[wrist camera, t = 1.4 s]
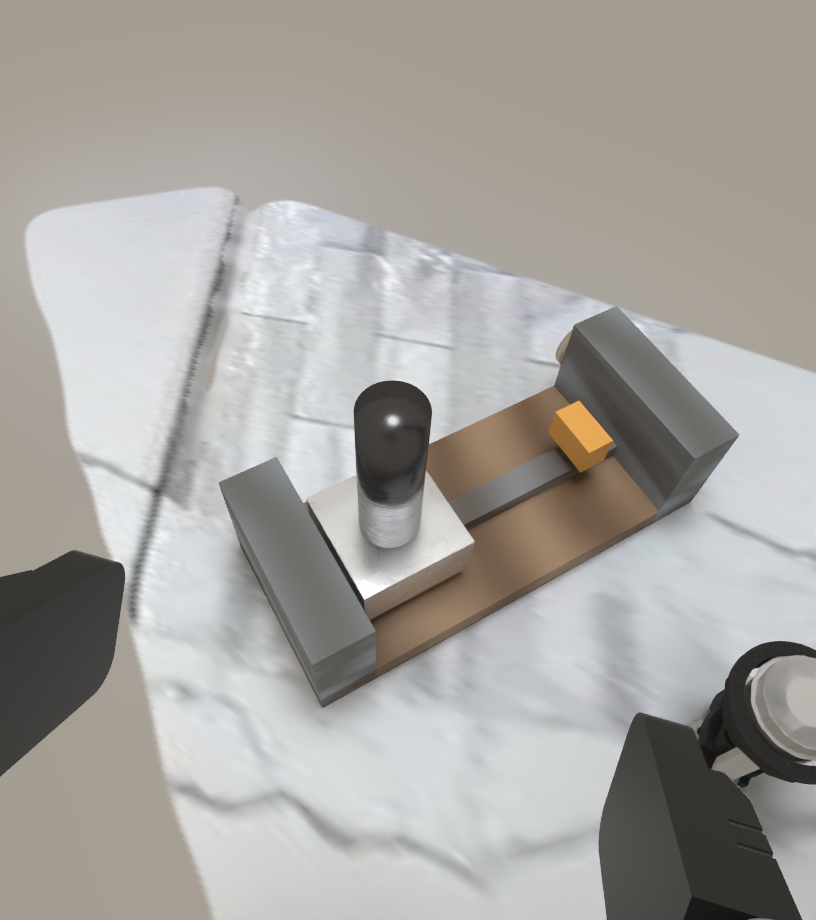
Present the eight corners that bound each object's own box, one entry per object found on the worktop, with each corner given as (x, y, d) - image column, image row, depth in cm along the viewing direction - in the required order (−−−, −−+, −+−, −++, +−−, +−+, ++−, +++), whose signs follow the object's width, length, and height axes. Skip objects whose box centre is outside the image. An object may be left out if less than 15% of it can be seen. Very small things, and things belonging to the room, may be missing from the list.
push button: (695, 657, 39) (782, 582, 31) (793, 720, 38) (913, 659, 29) (637, 767, 36) (716, 717, 28) (741, 840, 35) (858, 810, 26)
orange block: (571, 421, 43) (579, 400, 41) (603, 460, 42) (613, 440, 40) (548, 432, 42) (555, 411, 41) (580, 472, 41) (589, 452, 39)
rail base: (587, 376, 49) (616, 299, 43) (694, 499, 44) (743, 432, 38) (238, 541, 42) (215, 476, 36) (322, 707, 37) (312, 665, 31)
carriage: (409, 478, 41) (420, 331, 31) (468, 567, 39) (500, 437, 29) (311, 526, 40) (288, 386, 29) (365, 622, 37) (360, 504, 27)
